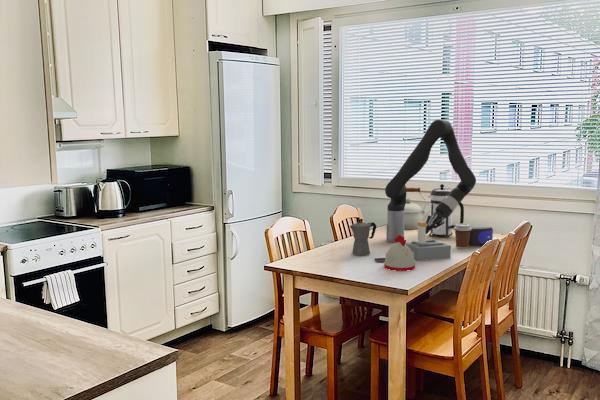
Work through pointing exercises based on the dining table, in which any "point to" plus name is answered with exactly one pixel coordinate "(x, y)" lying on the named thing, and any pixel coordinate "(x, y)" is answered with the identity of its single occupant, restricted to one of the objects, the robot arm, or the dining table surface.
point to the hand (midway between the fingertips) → (424, 232)
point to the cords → (380, 259)
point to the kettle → (413, 212)
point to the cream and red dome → (399, 256)
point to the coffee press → (445, 228)
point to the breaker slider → (421, 233)
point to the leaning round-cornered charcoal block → (480, 236)
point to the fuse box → (430, 250)
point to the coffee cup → (462, 235)
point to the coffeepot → (362, 237)
